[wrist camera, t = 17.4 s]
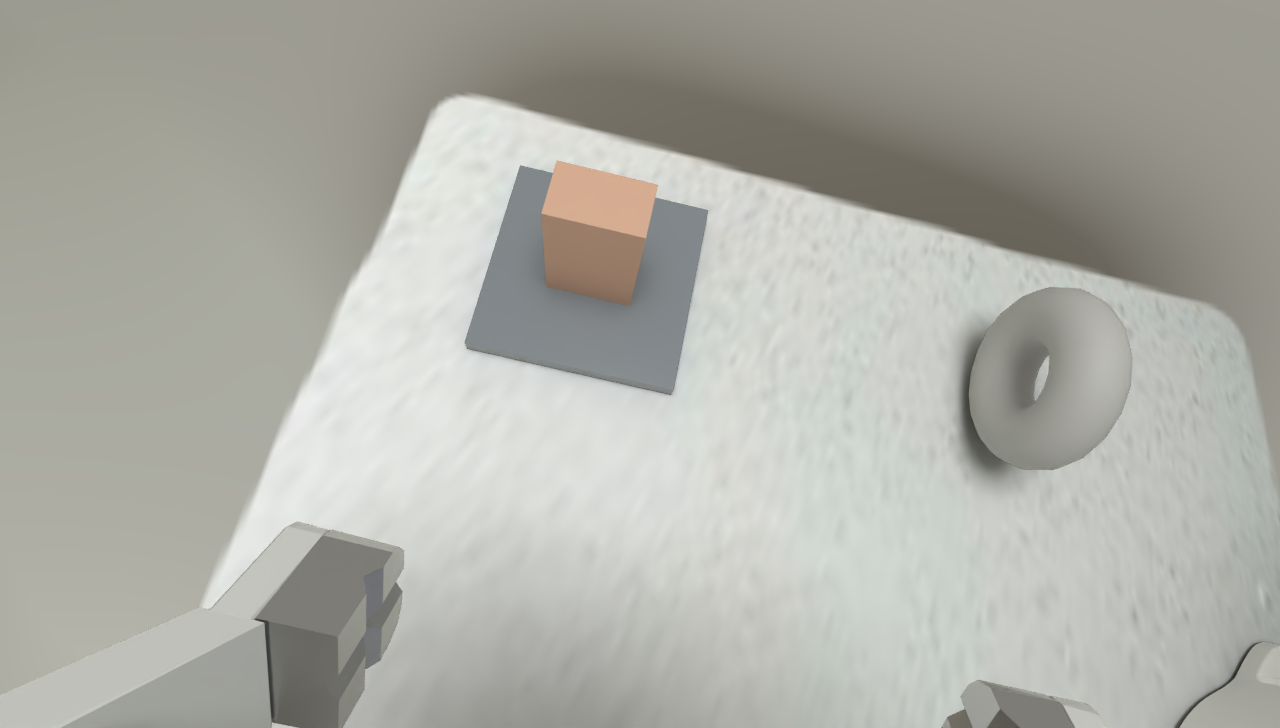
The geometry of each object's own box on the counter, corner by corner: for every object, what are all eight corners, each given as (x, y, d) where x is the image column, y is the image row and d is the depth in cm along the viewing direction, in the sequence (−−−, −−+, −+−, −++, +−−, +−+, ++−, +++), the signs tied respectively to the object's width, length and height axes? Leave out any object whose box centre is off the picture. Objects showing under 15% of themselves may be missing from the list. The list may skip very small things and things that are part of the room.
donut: (1011, 488, 38) (1160, 459, 28) (955, 476, 38) (1086, 444, 28) (1010, 332, 41) (1143, 260, 31) (958, 321, 41) (1076, 246, 31)
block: (640, 261, 39) (658, 184, 31) (629, 305, 38) (645, 238, 30) (558, 241, 38) (556, 160, 31) (546, 286, 37) (541, 213, 30)
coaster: (705, 218, 41) (708, 210, 40) (671, 394, 37) (673, 389, 36) (521, 174, 41) (520, 165, 40) (467, 348, 37) (464, 342, 36)
